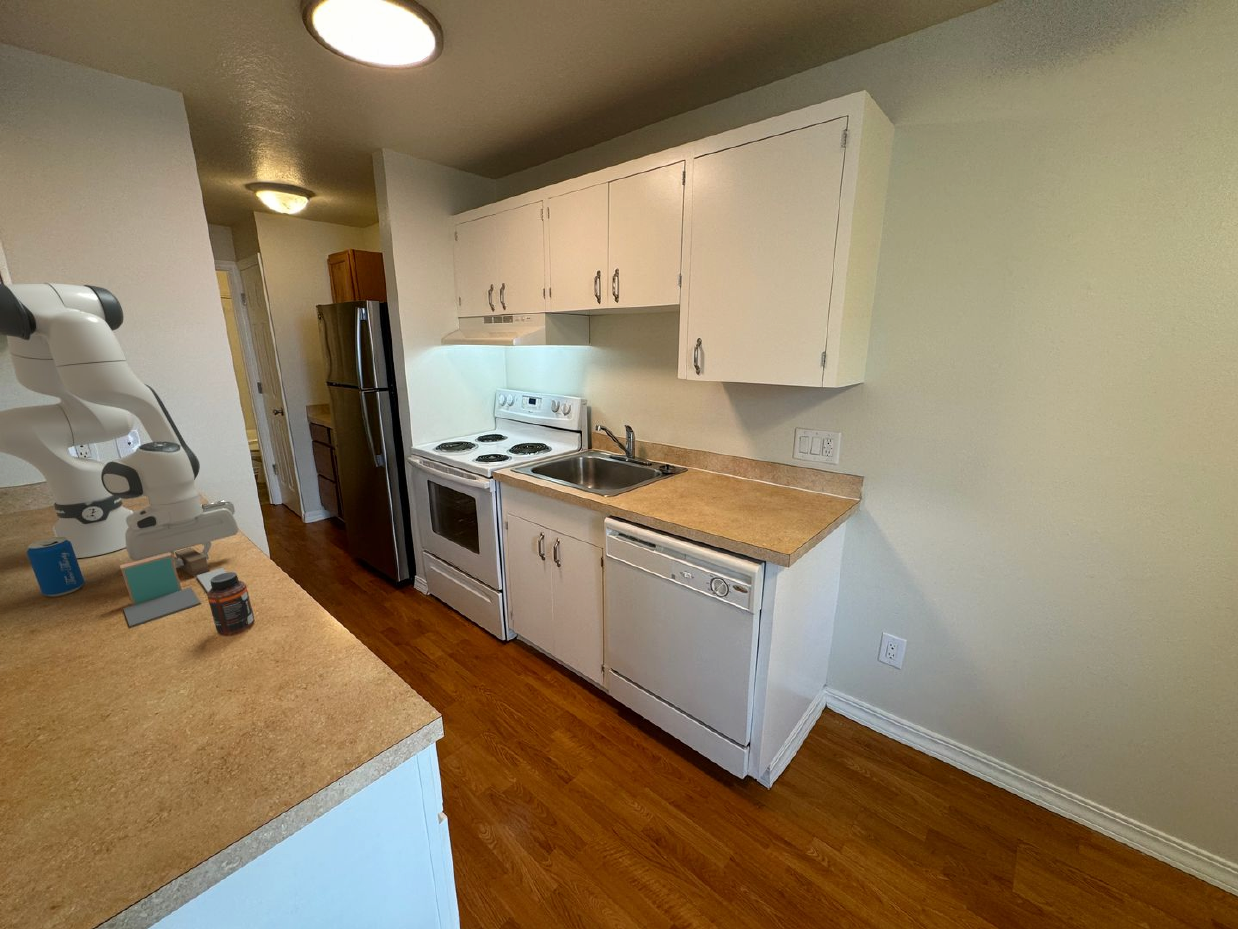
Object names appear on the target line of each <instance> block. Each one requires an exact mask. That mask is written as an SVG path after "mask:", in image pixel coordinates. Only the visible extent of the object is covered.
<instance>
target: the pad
mask: <svg viewBox="0 0 1238 929" xmlns="http://www.w3.org/2000/svg"><path fill="white" fill-rule="evenodd" d="M209 571H210V572H207V573H204V574H200V575H197V577H196V578H197V581H199V583H200V584H201V586H202V587H203V588H204V590H205V591H206V592H207V593H208V592H209V591H210V589H211V588H212V587H211V582H210V580H211V579H212V578H213V577H215V576H217V575H219V574H223V573H227V572H228V571H226V569H224V568H223V567H220V568H217V569H214V570H209Z"/></svg>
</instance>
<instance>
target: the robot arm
mask: <svg viewBox="0 0 1238 929" xmlns="http://www.w3.org/2000/svg"><path fill="white" fill-rule="evenodd" d="M123 323H124V312H123V307H122V305H121V303H120V301H119V300H118V298H117V297H116V295H115V294H113V292H111V291H110V290H109V289H107V288H104V287H99V286H96V285H88V284H84V285H79V284H78V285H77V284H68V283H56V282H44V283H14V284H4V283H0V335H1V336H6V338H7V345H8V350H9V354H10V358H11V361H12V366H13V369H14V373H15V377H16V379H17V381H18V383H19V384H20V385H21V386H22V387H23V388H26V389H27V390H30V391H32V392H35V393H37V394H41V395H46V396H52V397H55V398H58V399H60V400H59V401H60V402H58V403H55V404H53V403H51V404H43V405H33V406H23V407H14V408H9V409H5V410H0V453H3V454H5V455H9V456H10V455H11V456H14V457H16V458H19V459H20V460H23V461H25V462H27V463H29V464H30V465H32V466H33V467H35V469H37V470H38V471H39V472H40V473H41V475H43V478H44V479H45V481H46V483H47V485H48V487H49V489H50V491H51V494H52V497H53V499H54V503H53V506H54V509H53V510H54V512H55V513H56V516H57V518H58V520H57V522H56V523H54V525H53V526H52V528H51V530H52V533H53V535H54V537H66V538H67V539H66V540H68V541H70V542H71V544H72V547H73V550H74V553H75V556H76V558H77V559H79V558H80V559H82V558H90V557H95V556H100V555H105V554H109V553H112V552H115V551H118V550H121V549H126V553H127V554H128V555H127V556H128V558H129V559H130V560H132V561H133V562H135V561H139V560H142V559H146V558H150V557H154V556H158V555H161V554H165V553H169V552H170V553H171V554H172V557H173V561H174V564H175V568H176V569H178V568H180V567H182V566H184V563H183V559H182V558H178V559H177V558H176V554H175V552H176V551H180V550H183V549H187V548H192V547H194V546H198V545H202V546H203V548H202V551H201V552H199V553H200V554H202V555H203V556H205V557H206V560H209V559H210V558H209V554H208V553H209V551H210V549H211V548H212V542H213V541H218V540H221V539H225V538H229V537H232V536H236V535H237V534H238V532H239V526H238V523H237V520H236V518H235V516H234V515H235V512H236V510H235V506H234V503H233V502H231V501H226V500H219V501H216V502H209V503H203V504H202V500H201V497H200V493H199V491H198V490H197V489H196V486H195V481H196V479H197V477H198V475H199V474H200V469H201V468H200V467H201V466H200V461H199V458H198V457H197V455H196V454H195V453H194V452H193V450H192V449H191V448H190V447H189V445H188V444H187V443H186V441H185V440H184V437H183V436H182V434H181V432H180V430H179V429H178V427H177V425H176V424H175V422H174V420H173V418H172V416H171V415H170V413H169V410H168V409H167V408H166V406H165V405H164V402H163V401H162V399H161V397H160V396H159V394H158V393H157V392H156V391H155V390H154V389H153V388H152V387H151V386H150V385H148V384H145V383H144V382H142V381H141V380H140V379H139V377H137V376H136V374H135V373H134V372H133V370H132V369H131V367H130V365H129V363H128V361H127V357H126V355H125V353H124V351H123V348H122V345H121V344H120V341H119V340H118V338H117V337H116V334H115V333H114V331H117V330H118V329H119V328H120V327H121V326H122V324H123ZM133 415H134V416H135V417H137V419H138V420H139V421H140V423H141V425H142V426H143V427H144V430H145V431H146V433H147V435H148V436H149V438H150V440H151V441H152V442H146V443H144V444H141V445H139V446H138V447H137V448H136V449H135V451H134V452H132V453H130V454H128V455H126V456H123V457H120V458H116V459H115V460H112V461H109V462H107V463H106V464H105V463H103V462H101V461H99V460H96V459H91V458H86V457H79V456H78V457H77V456H75V455H72V454H71V453H70V451H69V448H72V447H77V446H78V447H79V446H85V445H91V444H99V443H106V442H110V441H113V440H116V439H120V438H123V437H126V436H128V435H129V434H130V433H131V432H132V430H133V428H134V417H133ZM140 497H147V499H148V504H149V506H147V507H145V508H143V509H140V510H138V511H136V512H133V510H130V509H129V508H126V507H124V506H123V502H122V499H124V500H128V499H137V498H140Z"/></svg>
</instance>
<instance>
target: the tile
mask: <svg viewBox="0 0 1238 929" xmlns="http://www.w3.org/2000/svg"><path fill="white" fill-rule="evenodd" d="M119 568H120V570H121V573H122V577H123V580H124V583H125V587H126V589H127V593H128V596H129V598H130V601H131V604H132V605H134V604H138V603H141V602H144V601H147V600H151V599H154V598H157V597H160V596H163V595H167V594H170V593H173V592H176V591H180V590H183V589H182V586H181V581H180V579H179V575H178V571H177V568H176V566H175V563H174V561H173V557H172V554H171V553H170V552H169V553H165V554H161V555H157V556H153V557H149V558H146V559H142V560H138V561H131V562H128V563H125V564H124V563H123V564H121V565H119Z"/></svg>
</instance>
